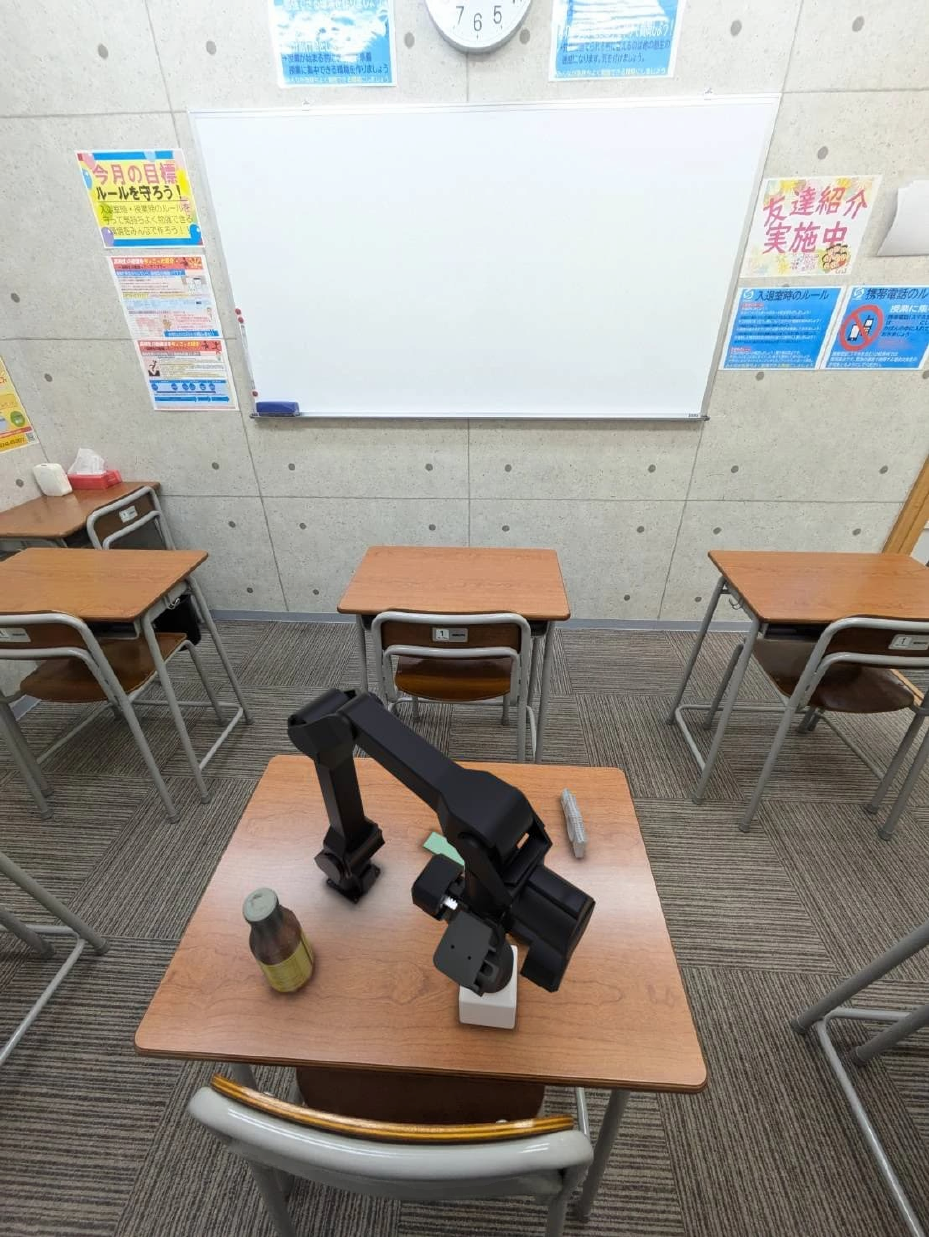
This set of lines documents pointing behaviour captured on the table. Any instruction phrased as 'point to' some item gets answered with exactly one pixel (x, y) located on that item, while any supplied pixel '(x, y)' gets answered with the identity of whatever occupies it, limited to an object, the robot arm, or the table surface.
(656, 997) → the table surface
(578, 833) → the garden wall model
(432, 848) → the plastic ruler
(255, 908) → the sauce bottle
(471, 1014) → the security camera
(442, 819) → the robot arm
